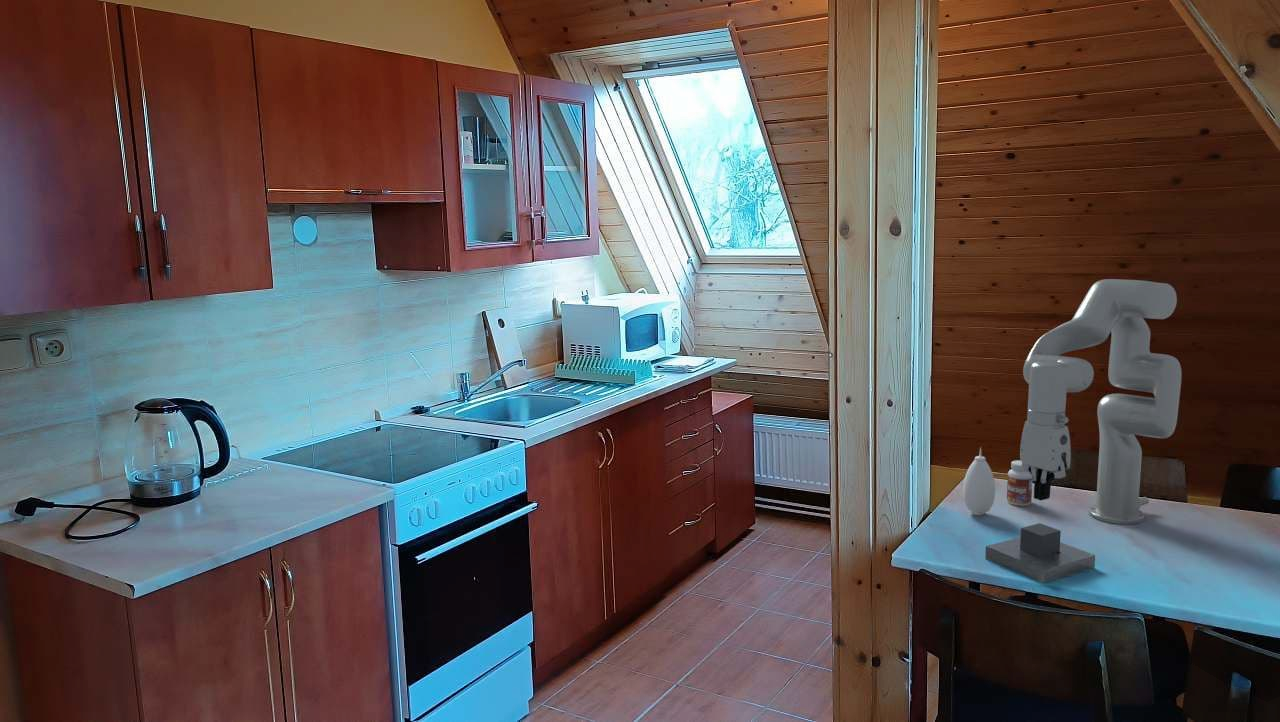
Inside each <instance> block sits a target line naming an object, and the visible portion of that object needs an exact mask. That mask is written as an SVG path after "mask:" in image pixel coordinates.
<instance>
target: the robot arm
mask: <svg viewBox="0 0 1280 722" xmlns="http://www.w3.org/2000/svg"><path fill="white" fill-rule="evenodd" d="M1177 302H1178V298H1177V292H1176V290H1175V288H1174V287H1173V286H1172V285H1171V284H1169V283H1164V282H1155V281H1149V280H1148V281H1147V280H1138V279H1121V278H1120V279H1117V278H1116V279H1115V278H1108V279H1107V278H1106V279H1105V278H1104V279H1100V280H1097V281H1096V282H1094V283H1093V284H1092V286H1090V288H1089V290H1088V291H1087V292H1086V295H1085V296H1084V298H1083V300H1082V302H1081V304H1080V305H1079V307H1078V308H1077V310H1076V312H1075V313H1074V316H1073V317H1072V319H1071V320H1068V321H1067V322H1064V323H1062V324H1060V325H1059V326H1056V327H1055V328H1053V329H1051V330H1050V331H1048V332H1046V333H1044V334H1043V335H1042V336H1040V337H1039V338H1038V339H1037V340H1036V342H1035V343H1034V345H1033V346H1032V348H1031V350H1030V351H1029V353H1028V354H1027V357H1026V359H1025V360H1024V361H1025V362H1024V365H1023V367H1022V368H1023V370H1022V374H1023V378H1024V381H1026V383H1027V384H1028V397H1027V398H1028V400H1027V416H1026V418H1027V420H1025V421H1024V426H1023V430H1022V434H1021V438H1020V439H1021V440H1020V447H1019V448H1020V449H1019V457H1020V461H1021V462H1022V467H1023V468H1025V469H1027V470H1029V472H1030V474H1031V475H1032V480H1033V481H1034V482H1033V481H1032V482H1033V499H1035V500H1038V501H1044V500H1049V499H1050V498H1051V485H1052V484H1051V483H1053V482H1055V479H1065V478H1066V476H1067V474H1066V471H1068V470H1070V468H1071V462H1072V461H1071V457H1072V454H1071V453H1072V452H1071V451H1072V450H1071V438H1070V437H1071V436H1070V430H1069V427H1068V426H1067V425H1065V424H1067V423H1068V422H1069V417H1067V416H1066V405H1067V404H1066V403H1067V393H1079V392H1082V391H1085V390H1086V389H1088V388H1089V387H1090V386H1091V384H1092V382H1093V380H1094V375H1095V372H1094V368H1093V365H1092V364H1091V362H1089V361H1088V360H1086V359H1083V358H1079V357H1073V356H1063V355H1062V354H1065V353H1069V352H1072V351H1076V350H1082V349H1086V348H1090V347H1094V346H1097V345H1100V344H1102V343H1104V342H1106V340H1107V339H1108V338H1109V336H1110V334H1111V338H1110V339H1111V340H1110V349H1109V358H1108V359H1109V360H1108V368H1107V369H1108V372H1107V373H1108V374H1107V375H1108V381H1109V383H1110V384H1111V385H1112V386H1113V387H1116V388H1119V389H1125V390H1131V391H1140V392H1144V393H1145V392H1147V393H1152V394H1153V395H1154V398H1153V397H1147V396H1142V395H1134V394H1126V393H1111V394H1107V395H1104V396H1103V397H1102V398H1101V399H1100V400H1099V402H1098V404H1097V409H1096V410H1097V412H1096V413H1097V421H1098V422H1097V423H1098V429H1099V430H1098V431H1099V432H1098V433H1099V450H1098V452H1099V453H1098V467H1097V468H1098V469H1097V480H1096V481H1097V485H1096V502H1095V504H1093V505H1092V506H1089V509H1088V513H1089V515H1090V516H1091V517H1093V518H1095V519H1096V520H1099V521H1102V522H1107V523H1109V524H1110V523H1113V524H1121V525H1134V524H1140V523H1142V522H1144V520H1145V518H1146V517H1145V516H1146V515H1145V513H1144V512H1143V511H1141V510H1140V508H1141V506H1144V505H1148V504H1149V501H1150V500H1149V498H1148V497H1146V496H1143V497H1140V487H1141V486H1140V484H1141V473H1142V472H1141V470H1142V459H1143V458H1142V455H1143V452H1142V447H1141V445H1140V442H1139V441H1138V439H1137V438H1136V436H1142V437H1148V438H1154V439H1155V438H1156V439H1167V438H1170V437H1171V436H1172V435H1173V434H1174V432H1175V430H1176V427H1177V422H1178V415H1179V407H1180V396H1181V387H1182V373H1183V372H1182V368H1181V364H1180V361H1179V360H1178V359H1177V358H1176V357H1174V356H1172V355H1169V354H1163V353H1154V352H1151V350H1150V344H1151V329H1150V328H1149V325H1148V324H1147V322H1146V320H1145V319H1153V320H1165V319H1167V318H1169V317H1170V316H1171V315H1172V314H1173V313H1174V311H1175V309H1176V307H1177V304H1178V303H1177ZM1135 435H1136V436H1135Z"/></svg>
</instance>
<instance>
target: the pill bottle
mask: <svg viewBox="0 0 1280 722" xmlns="http://www.w3.org/2000/svg"><path fill="white" fill-rule="evenodd" d="M1010 468H1011V469H1009V471H1007V484H1006V501H1007V503H1008V504H1011V505H1013V506H1020V507H1022V506H1023V507H1025V506H1026V507H1027V506H1029V505H1031V503H1032V498H1033V496H1032V493H1033V480H1032V475H1031V474H1030V472H1029V470H1027V469H1025V468H1023V467H1022V462H1021V460H1019V459H1018V460H1013V461H1011V465H1010Z"/></svg>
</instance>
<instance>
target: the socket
mask: <svg viewBox="0 0 1280 722" xmlns="http://www.w3.org/2000/svg"><path fill="white" fill-rule="evenodd" d="M1020 539H1021V536H1019V537H1015V538H1014V537H1013V538H1011V539H1008V540H1004V541H1000V542H997V543H993V544H989V545H985V554H984V555H985V559H986V560H988V561H990V562H993V563H995V564H997V565H1000V566H1002V567H1004V568H1007V569H1009V570H1011V571H1014V572H1016V573H1018V574H1021V575H1023V576H1026V577H1028V578H1030V579H1033V580H1034V581H1037V582H1039V583H1042V584H1047V583H1050V582H1053V581H1057V580H1060V579H1063V578H1067V577H1070V576H1072V575H1077V574H1080V573H1084V572H1087V571H1090V570H1093V569H1095V568H1096V567H1095V566H1096V565H1095V564H1096V555H1095V554H1094V553H1091V552H1087V551H1086V550H1082V549H1079V548H1077V547H1075V546H1072V545H1068V544H1066V543H1064V542H1061V541H1060V552H1058V553H1057V554H1055V555H1052V554H1051V555H1047V556H1044V557H1039V556H1036V555H1033V554H1030V553H1029V552H1026V551H1023V550H1021V549H1020Z"/></svg>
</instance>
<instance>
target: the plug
mask: <svg viewBox="0 0 1280 722" xmlns="http://www.w3.org/2000/svg"><path fill="white" fill-rule="evenodd" d="M1061 534H1062V533H1061V530H1059V529H1057V528H1054V527H1051V526H1049V525H1046V524H1044V523H1040V522H1039V523H1036V524H1035V523H1034V524H1031V525H1027V526H1024V527H1021V528H1020V537H1021V539H1020V549H1021V550H1023V551H1026V552H1029V553H1030V554H1033V555H1036V556H1039V557H1044V556H1047V555H1051V554H1052V555H1055V554H1057V553H1058V552H1060V542H1061Z"/></svg>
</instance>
